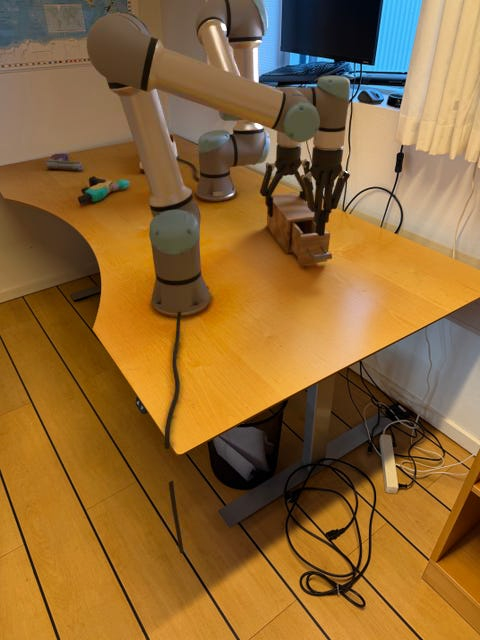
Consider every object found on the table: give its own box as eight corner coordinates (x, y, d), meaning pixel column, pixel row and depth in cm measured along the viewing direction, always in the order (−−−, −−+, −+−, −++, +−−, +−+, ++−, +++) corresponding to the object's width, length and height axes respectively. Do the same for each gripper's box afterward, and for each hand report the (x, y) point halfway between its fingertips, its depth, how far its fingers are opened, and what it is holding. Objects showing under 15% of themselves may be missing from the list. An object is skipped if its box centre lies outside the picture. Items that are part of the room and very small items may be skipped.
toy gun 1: (94, 162, 221) (79, 173, 209) (58, 159, 224) (41, 170, 212) (93, 153, 219) (78, 164, 207) (56, 151, 222) (39, 161, 210)
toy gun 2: (55, 191, 179) (85, 198, 173) (101, 171, 197) (130, 177, 192) (57, 202, 181) (87, 209, 176) (103, 182, 200) (131, 187, 194)
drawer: (335, 271, 135) (339, 242, 130) (306, 275, 134) (309, 246, 128) (304, 234, 156) (306, 207, 150) (278, 237, 154) (279, 210, 148)
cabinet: (316, 249, 149) (319, 216, 142) (286, 253, 147) (288, 219, 140) (294, 223, 165) (296, 192, 158) (266, 226, 163) (267, 195, 156)
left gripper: (346, 140, 122) (336, 225, 136) (298, 144, 119) (293, 230, 133) (359, 148, 116) (347, 236, 130) (309, 153, 113) (302, 242, 127)
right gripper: (319, 137, 149) (313, 205, 162) (249, 143, 144) (249, 212, 157) (328, 144, 143) (322, 213, 156) (256, 151, 138) (255, 221, 152)
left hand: (319, 233), depth 131 cm, fingers closed
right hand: (285, 213), depth 157 cm, fingers closed on cabinet, 10 cm apart
